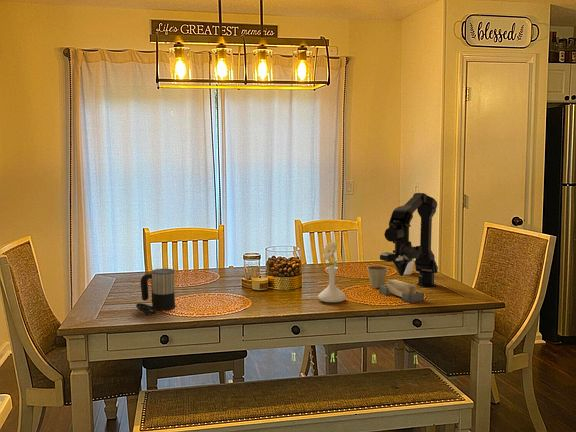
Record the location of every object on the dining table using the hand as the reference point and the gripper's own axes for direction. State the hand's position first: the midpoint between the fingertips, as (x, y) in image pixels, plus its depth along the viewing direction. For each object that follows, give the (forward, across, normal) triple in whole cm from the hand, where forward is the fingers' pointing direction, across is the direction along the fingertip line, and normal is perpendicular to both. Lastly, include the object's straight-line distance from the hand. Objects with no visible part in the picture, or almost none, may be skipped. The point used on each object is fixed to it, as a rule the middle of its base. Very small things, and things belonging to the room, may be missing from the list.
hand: (401, 275), depth 235 cm
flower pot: (+9, +3, +20) cm, 22 cm away
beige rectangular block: (+8, 0, 0) cm, 8 cm away
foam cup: (+9, +33, +36) cm, 50 cm away
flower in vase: (+9, -29, +8) cm, 32 cm away
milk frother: (+9, -95, +32) cm, 100 cm away
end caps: (+9, 0, 0) cm, 9 cm away
